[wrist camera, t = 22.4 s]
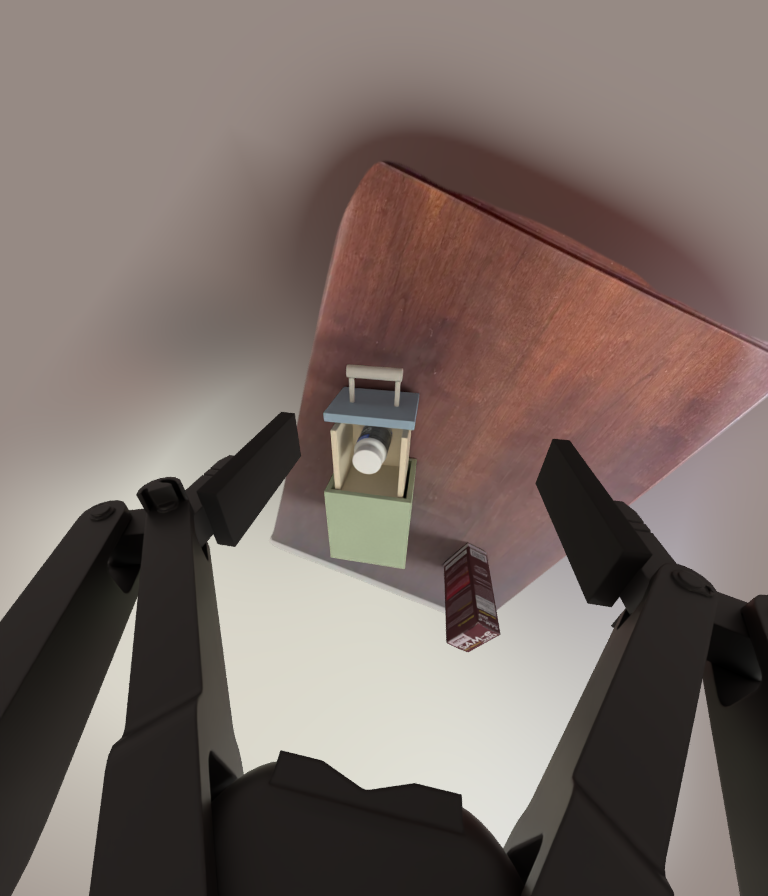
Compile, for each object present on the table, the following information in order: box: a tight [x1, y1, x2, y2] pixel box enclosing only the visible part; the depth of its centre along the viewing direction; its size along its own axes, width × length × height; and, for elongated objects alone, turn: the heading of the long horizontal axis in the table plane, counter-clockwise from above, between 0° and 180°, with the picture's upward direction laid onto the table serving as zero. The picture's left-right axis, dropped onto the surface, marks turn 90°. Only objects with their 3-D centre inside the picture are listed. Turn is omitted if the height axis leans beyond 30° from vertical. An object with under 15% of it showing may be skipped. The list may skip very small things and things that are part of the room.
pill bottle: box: [352, 425, 392, 474], centre depth 43 cm, size 5×5×8 cm
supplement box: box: [444, 543, 500, 652], centre depth 54 cm, size 9×5×16 cm, turn 151°
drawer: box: [323, 364, 419, 498], centre depth 42 cm, size 18×11×9 cm, turn 178°
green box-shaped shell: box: [324, 458, 417, 569], centre depth 50 cm, size 15×13×11 cm
